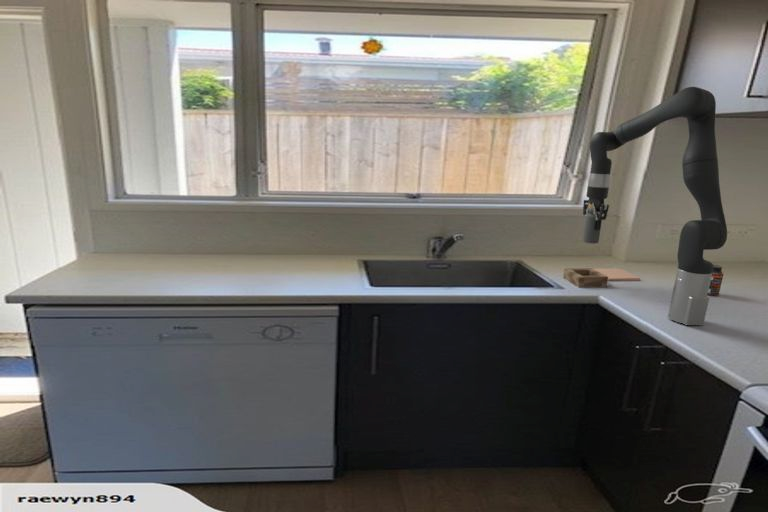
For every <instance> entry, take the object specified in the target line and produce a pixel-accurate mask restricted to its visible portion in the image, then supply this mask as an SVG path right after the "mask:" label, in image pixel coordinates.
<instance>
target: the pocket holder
mask: <svg viewBox="0 0 768 512" xmlns="http://www.w3.org/2000/svg"><path fill="white" fill-rule="evenodd" d="M594 269H595V268H591V267H590V268H587V267H585V268H581V267H580V268H564V270H563V279H565V280H566V279H567V280H566V281H568V282H569V281H570V283H571V284H572V283H573V284H572V285H574V286H575V287H577V286H578V287H577V288H598V287H599V288H602V287H603V288H605V287H606V288H607V285H608V282H609V281H608V277H607V276H605V275H603V274H601V273H600V272H598V271H596V270H594Z"/></svg>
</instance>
